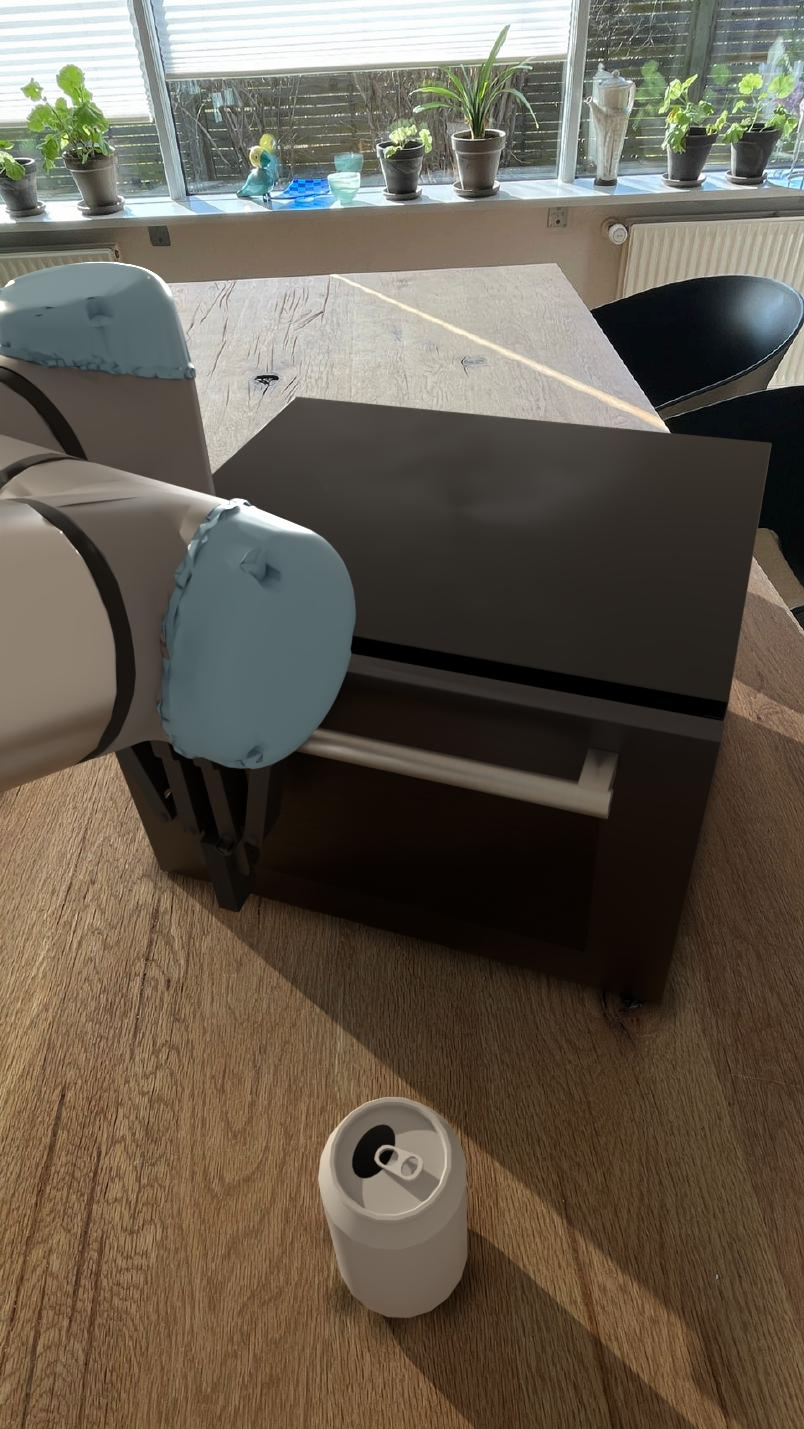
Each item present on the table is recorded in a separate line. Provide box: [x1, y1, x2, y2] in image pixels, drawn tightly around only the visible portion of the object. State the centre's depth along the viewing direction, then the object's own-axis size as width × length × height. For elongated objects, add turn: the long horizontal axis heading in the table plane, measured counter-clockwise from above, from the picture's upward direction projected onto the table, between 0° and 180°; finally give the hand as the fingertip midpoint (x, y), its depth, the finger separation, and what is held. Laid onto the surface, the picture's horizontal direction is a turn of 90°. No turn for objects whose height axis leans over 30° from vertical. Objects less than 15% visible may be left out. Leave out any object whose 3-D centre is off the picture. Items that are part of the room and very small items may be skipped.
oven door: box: [114, 653, 726, 1006], centre depth 62 cm, size 5×40×26 cm, turn 70°
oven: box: [212, 396, 772, 723], centre depth 75 cm, size 32×40×26 cm
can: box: [317, 1096, 468, 1319], centre depth 51 cm, size 8×8×12 cm
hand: (238, 894), depth 63 cm, fingers closed
